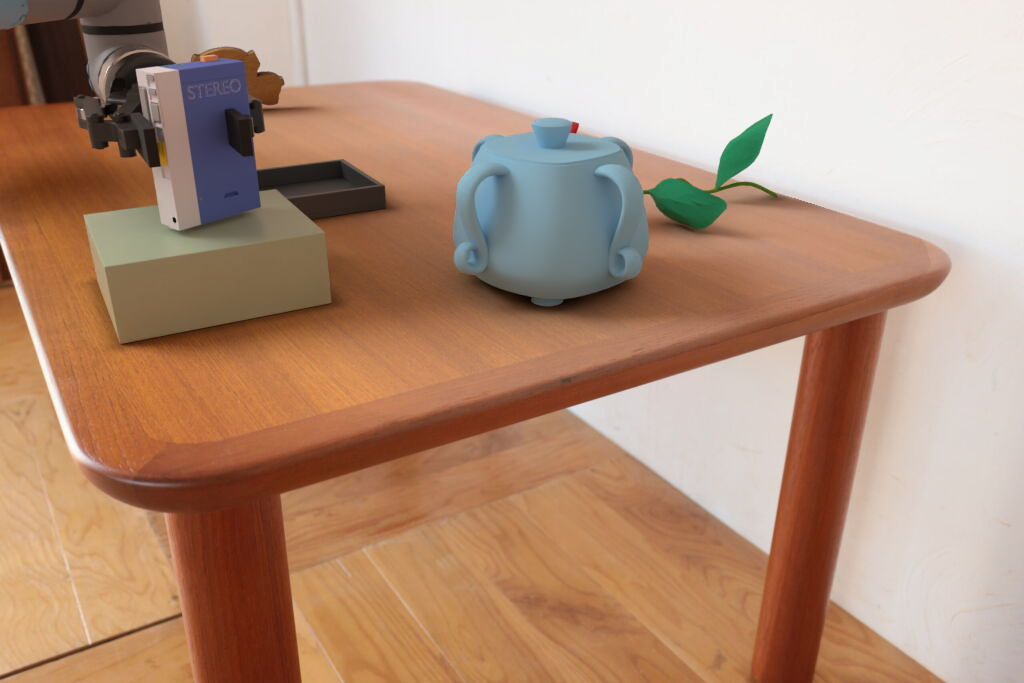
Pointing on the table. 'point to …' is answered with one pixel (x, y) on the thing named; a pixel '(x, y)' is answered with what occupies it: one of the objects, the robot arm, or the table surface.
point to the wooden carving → (251, 73)
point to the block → (206, 267)
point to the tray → (324, 188)
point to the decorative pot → (550, 213)
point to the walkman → (198, 140)
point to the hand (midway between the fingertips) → (200, 142)
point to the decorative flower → (701, 205)
